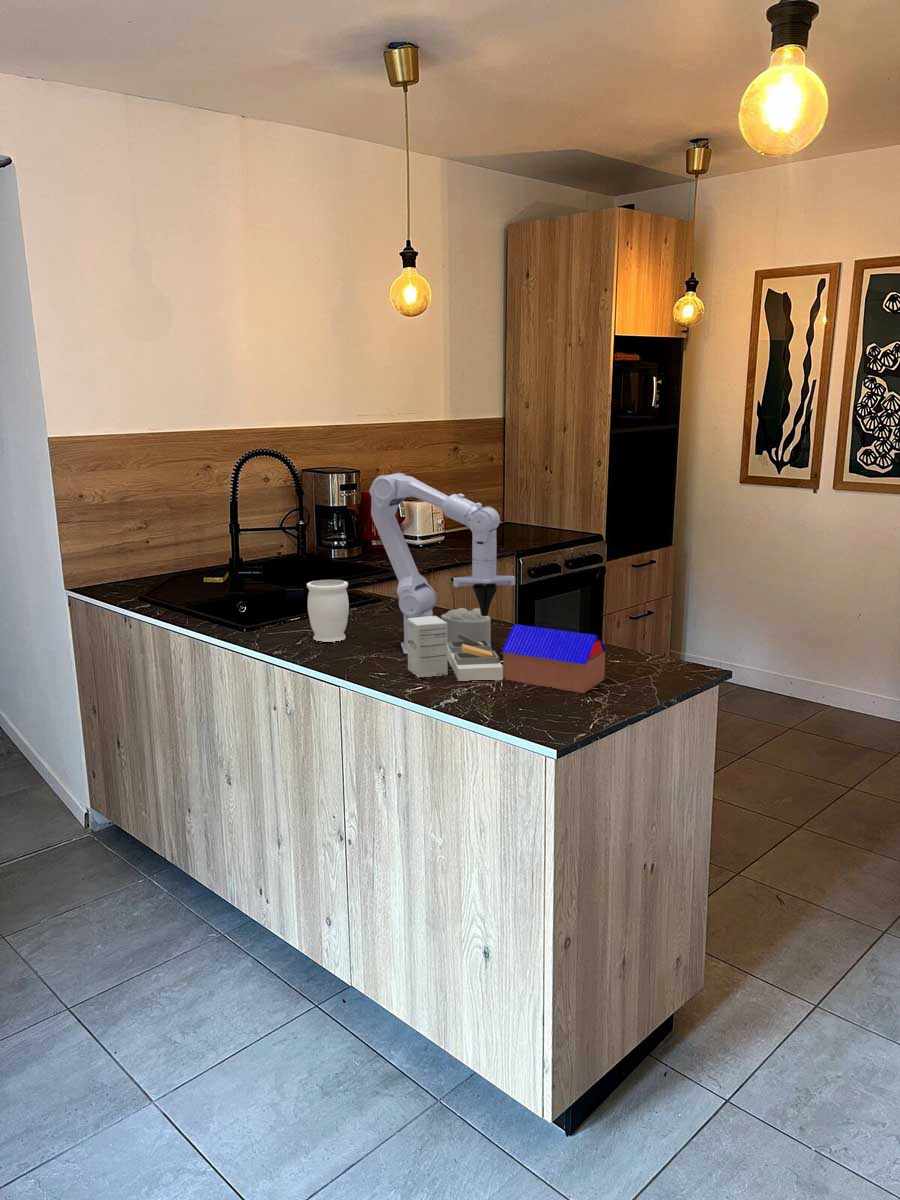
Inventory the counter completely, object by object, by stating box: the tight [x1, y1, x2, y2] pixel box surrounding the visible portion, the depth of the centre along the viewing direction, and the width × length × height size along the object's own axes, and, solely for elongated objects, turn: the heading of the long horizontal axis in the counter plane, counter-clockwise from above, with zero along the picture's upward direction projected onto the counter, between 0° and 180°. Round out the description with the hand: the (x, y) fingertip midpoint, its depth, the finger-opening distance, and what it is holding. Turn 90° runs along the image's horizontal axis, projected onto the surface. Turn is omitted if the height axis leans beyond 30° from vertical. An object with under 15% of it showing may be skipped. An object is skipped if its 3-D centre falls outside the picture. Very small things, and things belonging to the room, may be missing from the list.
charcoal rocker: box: [456, 631, 485, 646], centre depth 218 cm, size 4×7×1 cm, turn 98°
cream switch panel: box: [447, 640, 504, 682], centre depth 213 cm, size 22×10×4 cm, turn 8°
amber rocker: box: [461, 644, 493, 658], centre depth 208 cm, size 4×7×1 cm, turn 98°
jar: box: [306, 579, 350, 643], centre depth 238 cm, size 11×10×15 cm
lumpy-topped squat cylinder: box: [440, 607, 492, 646], centre depth 234 cm, size 10×13×9 cm
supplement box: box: [407, 615, 449, 679], centre depth 208 cm, size 7×7×13 cm
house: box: [501, 623, 608, 694], centre depth 203 cm, size 12×20×12 cm, turn 59°
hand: (484, 615), depth 220 cm, fingers closed
